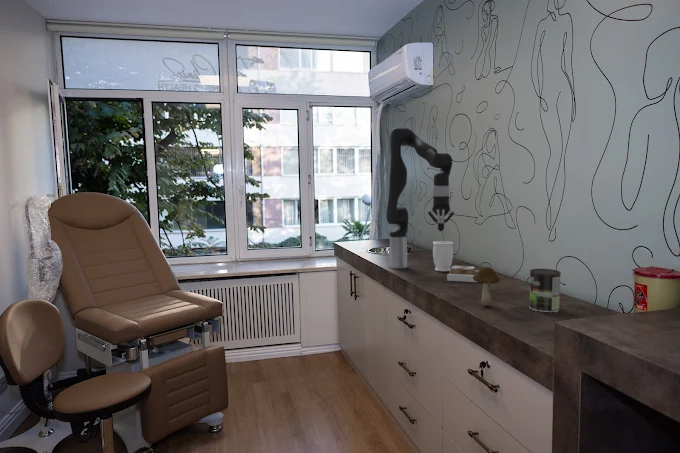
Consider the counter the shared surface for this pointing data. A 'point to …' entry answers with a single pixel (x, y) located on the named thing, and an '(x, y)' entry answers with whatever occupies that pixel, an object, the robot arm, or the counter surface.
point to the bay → (461, 277)
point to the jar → (442, 255)
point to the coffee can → (544, 290)
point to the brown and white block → (463, 270)
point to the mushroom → (486, 283)
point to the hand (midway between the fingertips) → (441, 230)
